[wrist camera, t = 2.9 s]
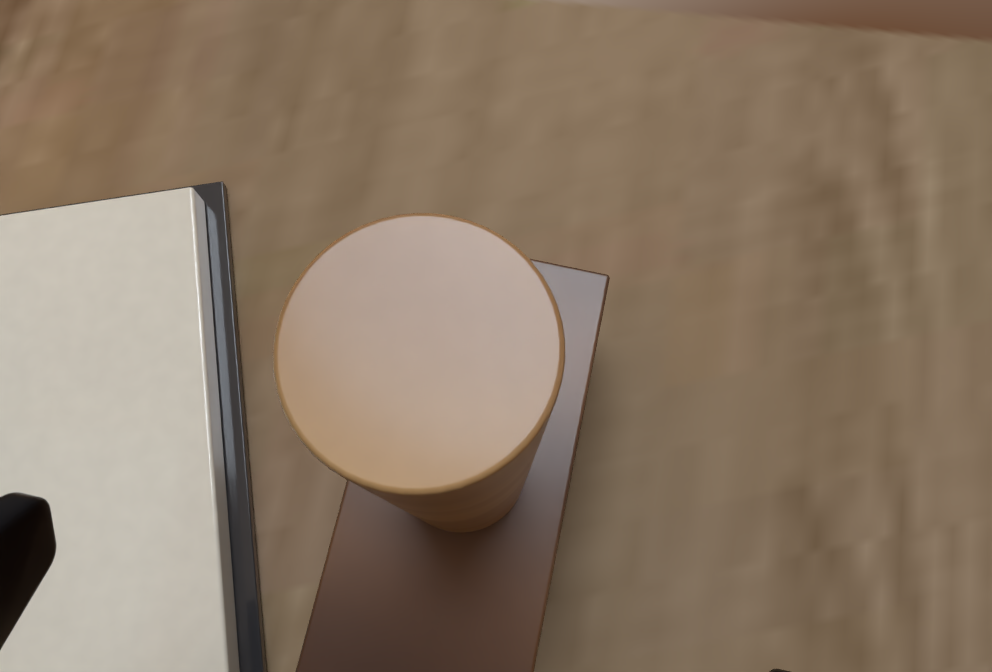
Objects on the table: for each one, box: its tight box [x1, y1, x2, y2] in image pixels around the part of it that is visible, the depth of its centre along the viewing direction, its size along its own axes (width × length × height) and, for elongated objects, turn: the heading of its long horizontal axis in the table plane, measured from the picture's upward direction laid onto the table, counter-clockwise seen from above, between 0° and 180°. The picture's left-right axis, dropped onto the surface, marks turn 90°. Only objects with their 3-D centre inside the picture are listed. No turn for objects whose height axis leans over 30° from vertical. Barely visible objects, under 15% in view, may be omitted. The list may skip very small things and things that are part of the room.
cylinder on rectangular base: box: [273, 213, 610, 672], centre depth 13 cm, size 9×4×13 cm, turn 168°
